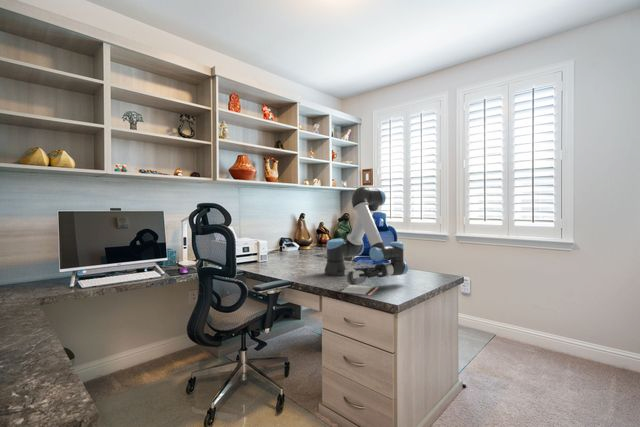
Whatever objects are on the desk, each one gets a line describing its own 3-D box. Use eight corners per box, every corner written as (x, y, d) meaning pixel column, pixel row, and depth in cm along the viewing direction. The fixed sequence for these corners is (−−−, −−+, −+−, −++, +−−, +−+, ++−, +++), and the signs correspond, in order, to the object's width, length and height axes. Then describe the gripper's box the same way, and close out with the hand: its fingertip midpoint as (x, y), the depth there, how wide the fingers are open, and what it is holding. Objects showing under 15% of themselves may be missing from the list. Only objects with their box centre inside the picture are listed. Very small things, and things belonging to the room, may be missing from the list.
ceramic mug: (367, 283, 180) (366, 270, 180) (356, 286, 175) (356, 272, 175) (353, 281, 188) (352, 267, 188) (342, 283, 183) (342, 269, 183)
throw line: (376, 287, 184) (376, 287, 184) (378, 288, 184) (378, 287, 184) (367, 295, 169) (367, 294, 169) (370, 295, 168) (370, 295, 168)
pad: (350, 285, 190) (350, 284, 190) (372, 287, 184) (372, 286, 184) (341, 292, 176) (341, 291, 176) (364, 294, 171) (364, 293, 171)
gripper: (395, 280, 178) (359, 285, 169) (372, 273, 197) (339, 277, 188) (395, 266, 178) (359, 270, 168) (372, 261, 197) (339, 264, 188)
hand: (349, 274), depth 178 cm, fingers closed on ceramic mug, 8 cm apart
